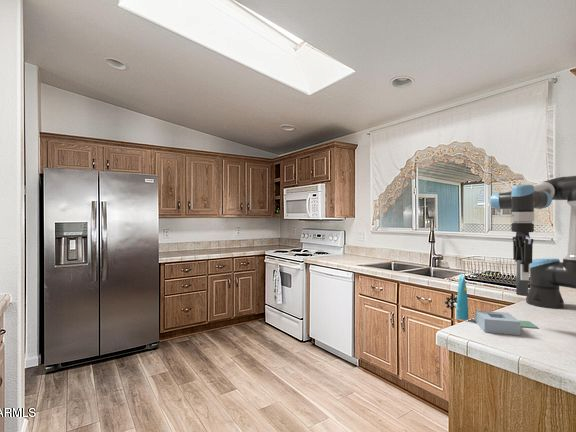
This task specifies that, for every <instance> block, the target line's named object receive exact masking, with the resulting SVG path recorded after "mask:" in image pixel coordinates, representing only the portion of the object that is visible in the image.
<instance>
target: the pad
mask: <svg viewBox="0 0 576 432" xmlns="http://www.w3.org/2000/svg"><path fill="white" fill-rule="evenodd" d="M519 321H520V328H526V329H527V328H528V329H539V327H538V326H537V325H536V324H534V323H533V322H531V321H530V320H529V321H528V320H519Z"/></svg>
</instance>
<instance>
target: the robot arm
mask: <svg viewBox="0 0 576 432" xmlns="http://www.w3.org/2000/svg"><path fill="white" fill-rule="evenodd" d="M553 201H566V203H567V204H568V205H570V215H569V216H570V217H569V229H568V243H567V255H566V256H565V257H564V258H562V262H561V260H560V259H559V258H535V259H533V245H534V238H531V237H530V233H534V231H535V224H534V221H535V209H538V210H542V209H547V208H548V207H550V206H551V204H552V203H553ZM489 204H490V206H491V208H492V209H494V210H511V214H510V215H509V216H510V217H511V222H512V223H511V232H513V233H515V236H512V245H513V247H512V249H513V250H512V251H513V252H512V254H513V260H514V262H515V263H516V260H522V263H520V264H521V280H528V281H529V285H530V286H529V288H528V296H525V302H526V303H527V304H529V305H533V306H536V307H542V308H548V309H562V308H565V301H564V299H563V297H562V294H561V291H560V287H562V288H563V287H564V288H567V289H568V288H570V289H575V290H576V175H569V176H561V177H560V176H559V177H555V178H554V177H553V178H551V179H548V180H543V181H541V182H537V184H535V185H533V184H517V185H513V186H512V187H511V190H510V191H507V192H498V193H497V192H496V193H493V194H492V195H491V196H490V199H489Z"/></svg>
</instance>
